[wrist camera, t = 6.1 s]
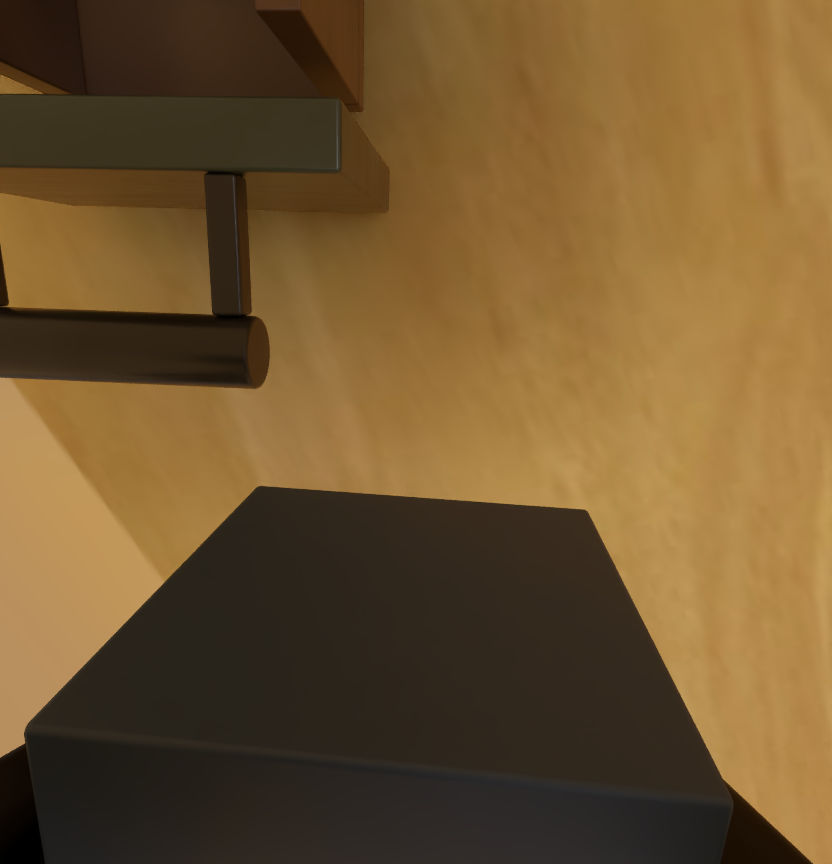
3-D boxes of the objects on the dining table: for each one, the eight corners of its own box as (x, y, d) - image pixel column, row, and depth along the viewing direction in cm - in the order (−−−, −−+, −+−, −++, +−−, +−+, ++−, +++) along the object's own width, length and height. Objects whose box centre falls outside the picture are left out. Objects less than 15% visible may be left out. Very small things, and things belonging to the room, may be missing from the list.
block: (551, 780, 10) (631, 1250, 5) (265, 750, 10) (90, 1166, 6) (587, 508, 9) (739, 804, 4) (257, 484, 9) (18, 726, 4)
